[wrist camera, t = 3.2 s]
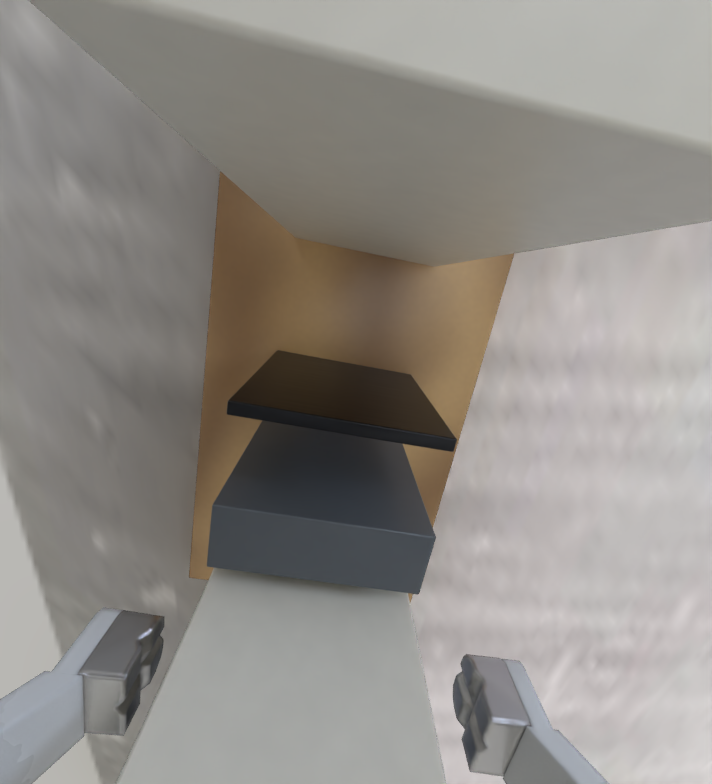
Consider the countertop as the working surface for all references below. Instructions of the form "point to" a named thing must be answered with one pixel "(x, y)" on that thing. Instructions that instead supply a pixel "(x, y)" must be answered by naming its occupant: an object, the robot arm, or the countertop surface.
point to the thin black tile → (342, 401)
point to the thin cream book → (291, 690)
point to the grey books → (322, 511)
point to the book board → (333, 334)
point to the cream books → (430, 113)
